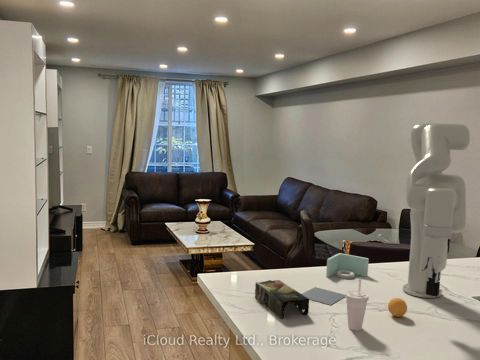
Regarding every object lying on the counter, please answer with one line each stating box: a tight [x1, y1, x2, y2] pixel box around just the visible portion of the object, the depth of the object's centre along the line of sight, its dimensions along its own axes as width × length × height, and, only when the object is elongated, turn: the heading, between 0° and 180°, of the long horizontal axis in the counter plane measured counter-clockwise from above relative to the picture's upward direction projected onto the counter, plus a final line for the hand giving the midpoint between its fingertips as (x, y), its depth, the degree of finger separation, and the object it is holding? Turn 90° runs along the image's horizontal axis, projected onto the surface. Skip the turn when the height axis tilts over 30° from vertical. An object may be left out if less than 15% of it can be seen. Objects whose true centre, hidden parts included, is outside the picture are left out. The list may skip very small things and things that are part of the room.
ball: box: [387, 297, 408, 318], centre depth 141 cm, size 6×6×6 cm
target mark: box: [301, 286, 346, 306], centre depth 157 cm, size 12×12×1 cm
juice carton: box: [254, 279, 310, 320], centre depth 146 cm, size 20×10×6 cm, turn 23°
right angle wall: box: [325, 252, 369, 280], centre depth 179 cm, size 12×12×8 cm
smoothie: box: [344, 279, 370, 332], centre depth 131 cm, size 6×6×14 cm
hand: (432, 294), depth 134 cm, fingers closed
